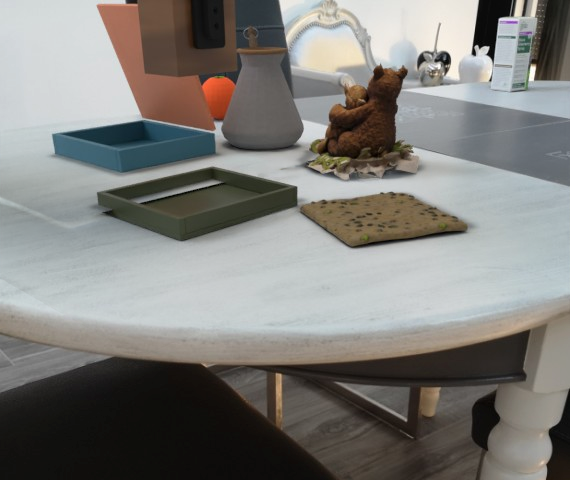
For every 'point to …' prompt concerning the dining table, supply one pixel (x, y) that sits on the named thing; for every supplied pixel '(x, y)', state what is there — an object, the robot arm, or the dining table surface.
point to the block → (182, 40)
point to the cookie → (380, 218)
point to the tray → (198, 202)
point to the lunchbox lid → (153, 88)
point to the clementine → (218, 95)
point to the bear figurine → (365, 131)
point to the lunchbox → (134, 145)
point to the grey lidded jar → (261, 102)
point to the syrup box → (513, 53)
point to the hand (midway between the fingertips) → (189, 44)
